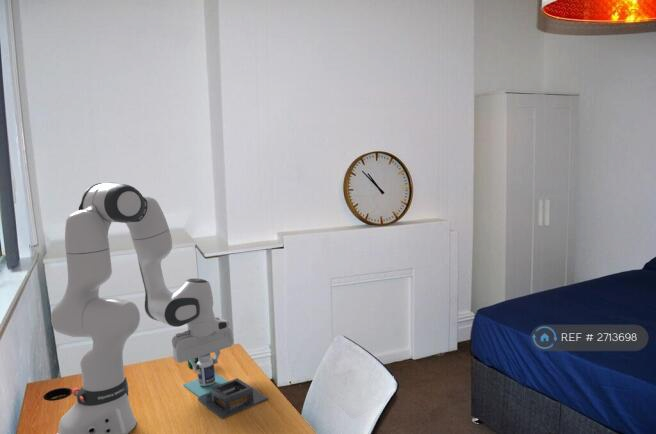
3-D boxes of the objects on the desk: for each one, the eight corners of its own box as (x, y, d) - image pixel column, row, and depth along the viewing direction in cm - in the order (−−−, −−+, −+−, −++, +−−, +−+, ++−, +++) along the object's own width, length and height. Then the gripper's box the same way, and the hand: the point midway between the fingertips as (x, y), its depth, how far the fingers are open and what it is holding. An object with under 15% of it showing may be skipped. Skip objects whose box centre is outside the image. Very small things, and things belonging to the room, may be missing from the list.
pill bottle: (217, 378, 182) (214, 351, 180) (212, 386, 176) (209, 358, 175) (201, 379, 182) (199, 351, 181) (196, 386, 177) (193, 358, 175)
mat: (199, 397, 171) (199, 396, 171) (183, 385, 180) (183, 384, 180) (232, 385, 179) (232, 383, 178) (215, 374, 188) (215, 372, 188)
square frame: (222, 418, 157) (220, 406, 157) (197, 400, 170) (196, 388, 169) (268, 399, 167) (267, 387, 167) (242, 383, 180) (241, 371, 179)
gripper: (175, 338, 167) (180, 379, 170) (233, 320, 180) (237, 359, 182) (167, 333, 172) (171, 373, 174) (224, 316, 185) (227, 354, 187)
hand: (205, 366), depth 178 cm, fingers closed on pill bottle, 5 cm apart
